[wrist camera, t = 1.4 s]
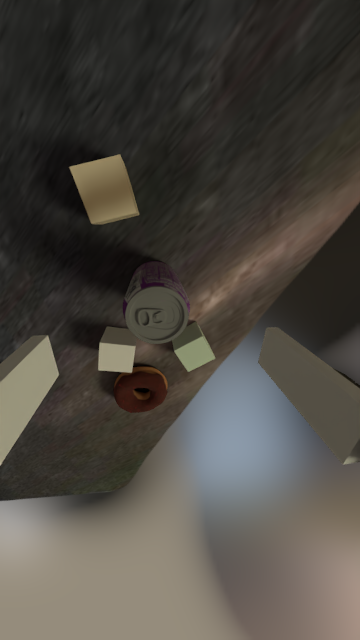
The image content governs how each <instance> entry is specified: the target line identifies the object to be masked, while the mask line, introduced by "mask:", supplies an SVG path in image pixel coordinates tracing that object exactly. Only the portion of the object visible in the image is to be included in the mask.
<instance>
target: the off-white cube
mask: <svg viewBox="0 0 360 640" xmlns="http://www.w3.org/2000/svg"><path fill="white" fill-rule="evenodd" d="M136 339H137V337H136V336H134V335H133V334H132V333H131V331H130V330H129V329H124V328H116V327H108V326H107V327H106V329H105V332H104V334H103V336H102V338H101V341H100V344H99V365H98V370H101V371H114V372H128V373H132V368H133V361H134V354H135V347H136Z"/></svg>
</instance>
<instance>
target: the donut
mask: <svg viewBox="0 0 360 640" xmlns="http://www.w3.org/2000/svg"><path fill="white" fill-rule="evenodd" d="M136 388H148V389H149V390H150V391H149V392H146V393H143V392H139V391H135V390H134V389H136ZM113 390H114V397H115V400H116V402H117V404H118V405H119V407H121V408H122V409H123V410H126V411H128V412H131V413H132V412H134V413H136V412H146V411H149V410H151V409H154V408H155V407H156V406H158V405H160V404H161V403H162V402H163V401H164V399H165V397H166V395H167V380H166V378H165V376H164V375H163V374H162V373H161V372H160V371H159V370H157V369H155V368H153V367H144V366H141V367H133V368H132V373H128V372H123V373H121V374H120V375H119V376H118V377H117V379H116V381H115V385H114V389H113Z"/></svg>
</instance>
